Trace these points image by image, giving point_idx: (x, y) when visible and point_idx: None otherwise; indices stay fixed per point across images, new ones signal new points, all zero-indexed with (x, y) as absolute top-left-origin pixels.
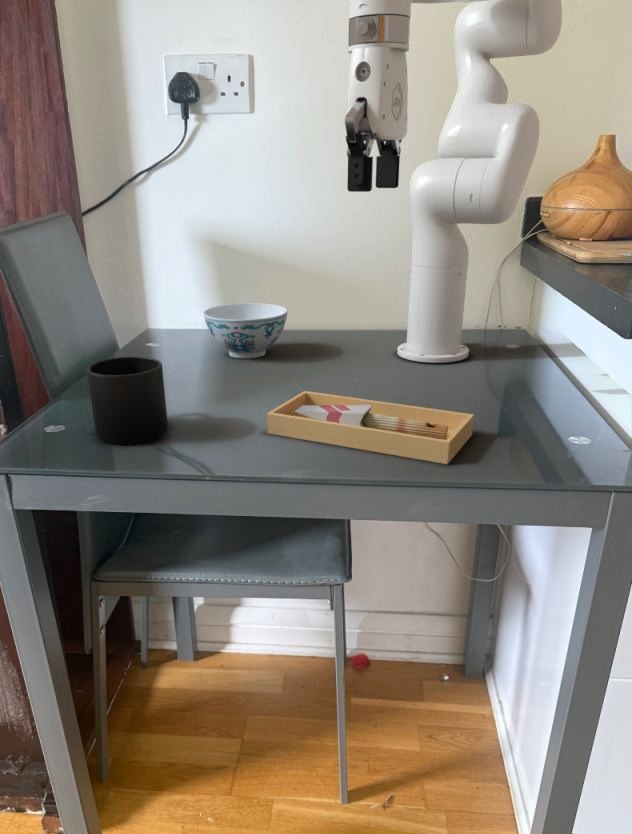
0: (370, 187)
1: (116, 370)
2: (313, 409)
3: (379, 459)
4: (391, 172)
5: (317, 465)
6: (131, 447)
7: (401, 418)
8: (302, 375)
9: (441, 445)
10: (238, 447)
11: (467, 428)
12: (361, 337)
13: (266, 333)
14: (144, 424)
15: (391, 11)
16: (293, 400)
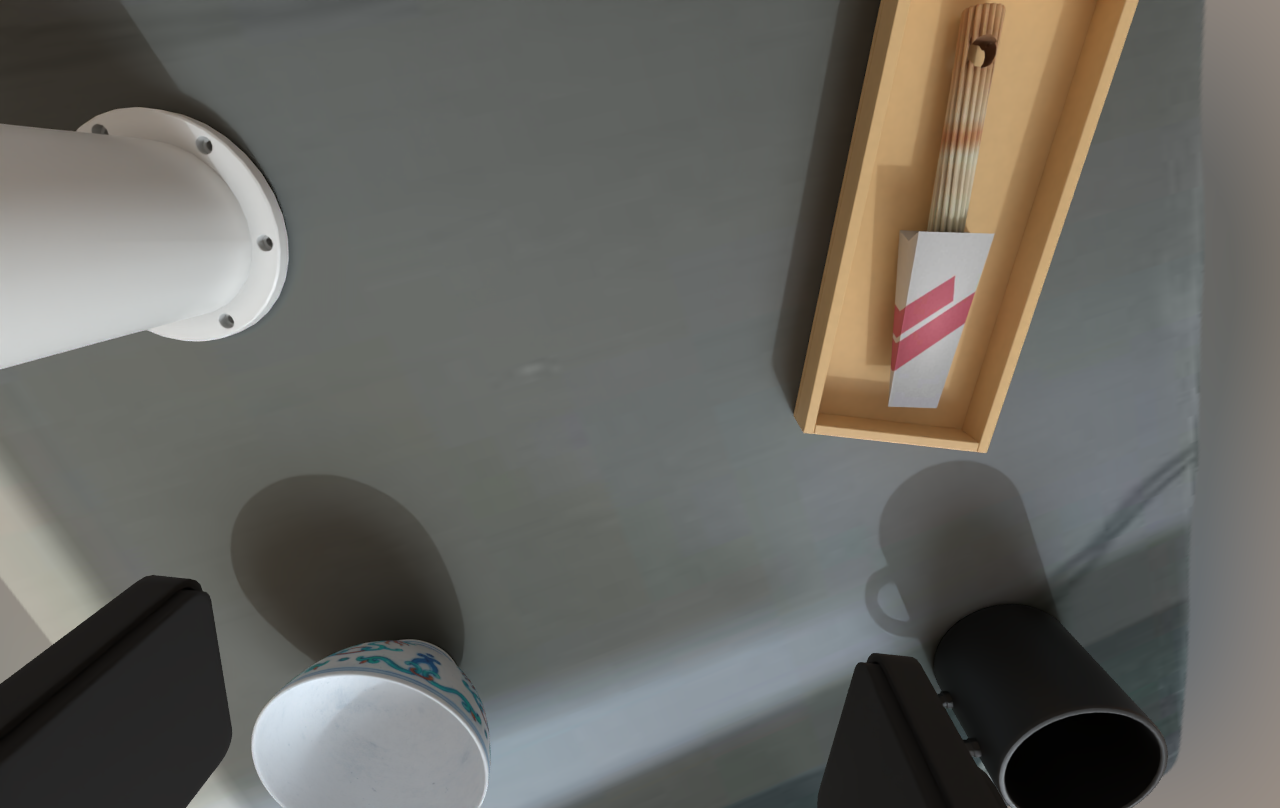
0: (921, 671)
1: (1006, 784)
2: (927, 370)
3: (1086, 157)
4: (97, 739)
5: (1132, 278)
6: (1071, 625)
7: (961, 140)
8: (536, 504)
9: None
10: (1048, 458)
11: None
12: (106, 477)
13: (435, 664)
14: (1072, 637)
15: None
16: (881, 431)
